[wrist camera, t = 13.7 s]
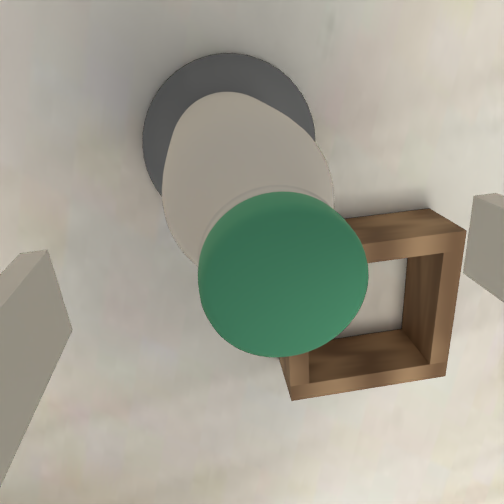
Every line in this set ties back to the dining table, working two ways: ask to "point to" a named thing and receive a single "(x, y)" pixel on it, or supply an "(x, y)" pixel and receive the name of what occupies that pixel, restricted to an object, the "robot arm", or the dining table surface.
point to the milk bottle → (261, 227)
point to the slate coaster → (213, 81)
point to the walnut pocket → (414, 311)
